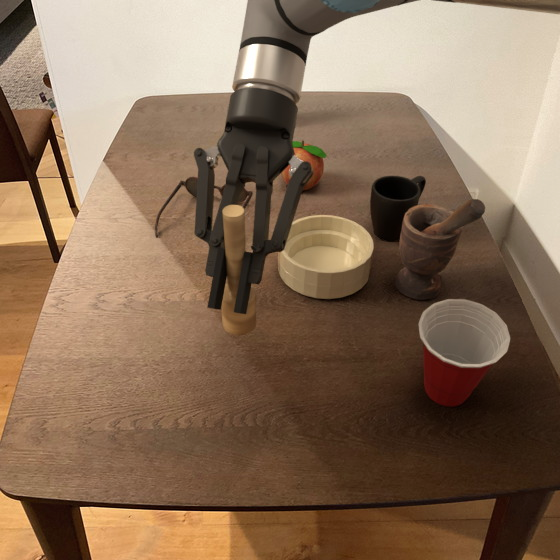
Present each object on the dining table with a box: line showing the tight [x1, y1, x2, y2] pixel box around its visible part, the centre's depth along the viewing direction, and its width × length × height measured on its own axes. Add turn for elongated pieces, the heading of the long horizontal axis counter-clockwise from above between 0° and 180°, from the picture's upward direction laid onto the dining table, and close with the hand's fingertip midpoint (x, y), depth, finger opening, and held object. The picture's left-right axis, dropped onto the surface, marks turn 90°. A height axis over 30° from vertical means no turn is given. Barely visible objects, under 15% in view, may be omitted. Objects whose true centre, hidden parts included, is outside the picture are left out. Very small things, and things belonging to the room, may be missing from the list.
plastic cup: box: [417, 298, 511, 408], centre depth 74 cm, size 11×11×12 cm
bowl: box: [277, 214, 375, 300], centre depth 95 cm, size 15×15×6 cm
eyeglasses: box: [154, 176, 254, 238], centre depth 105 cm, size 15×15×5 cm
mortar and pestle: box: [394, 198, 486, 301], centre depth 86 cm, size 12×9×20 cm
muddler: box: [221, 204, 257, 336], centre depth 63 cm, size 4×4×16 cm
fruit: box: [280, 139, 327, 191], centre depth 113 cm, size 9×10×10 cm
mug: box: [369, 175, 427, 243], centre depth 103 cm, size 8×12×10 cm
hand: (227, 310), depth 62 cm, fingers closed on muddler, 2 cm apart
